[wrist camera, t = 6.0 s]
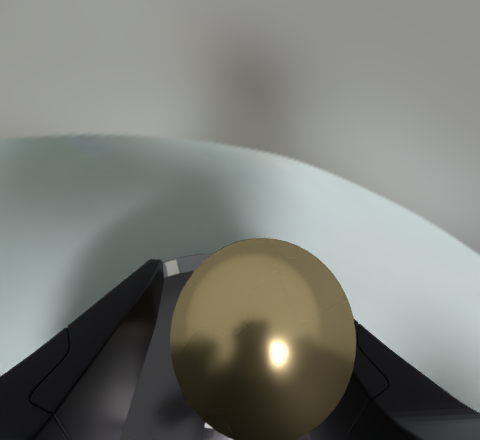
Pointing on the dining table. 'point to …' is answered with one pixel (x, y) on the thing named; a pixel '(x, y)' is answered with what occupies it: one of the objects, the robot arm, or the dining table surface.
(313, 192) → the dining table surface
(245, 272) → the dial
